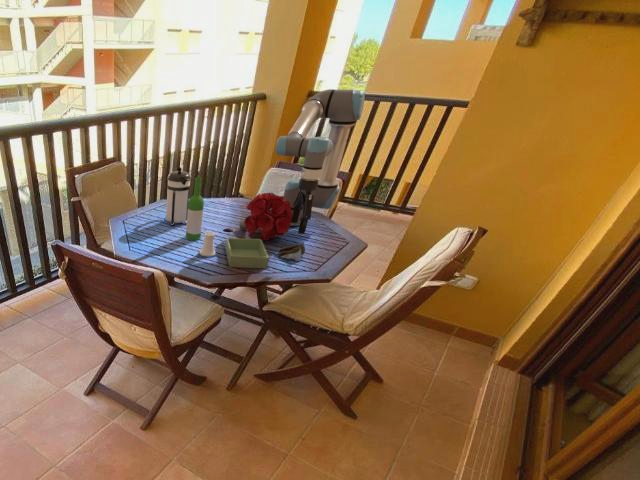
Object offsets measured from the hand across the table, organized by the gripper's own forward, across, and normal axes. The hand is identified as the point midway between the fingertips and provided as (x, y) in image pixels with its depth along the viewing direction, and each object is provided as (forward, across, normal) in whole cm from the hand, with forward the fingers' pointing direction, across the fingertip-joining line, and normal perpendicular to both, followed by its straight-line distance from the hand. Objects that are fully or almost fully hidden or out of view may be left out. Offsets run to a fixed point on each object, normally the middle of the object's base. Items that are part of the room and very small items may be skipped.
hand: (297, 228), depth 175 cm
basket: (+14, +2, -21) cm, 26 cm away
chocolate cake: (+14, 0, 0) cm, 15 cm away
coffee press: (+15, -45, -55) cm, 72 cm away
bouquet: (+15, -26, -9) cm, 31 cm away
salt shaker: (+14, -56, -6) cm, 58 cm away
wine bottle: (+14, -21, -45) cm, 52 cm away
